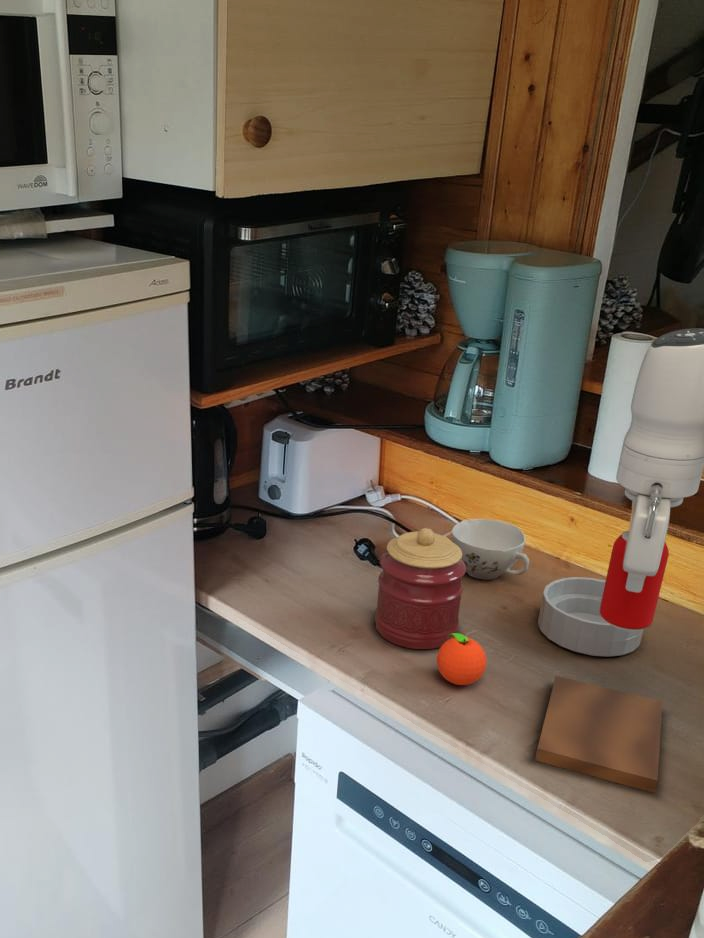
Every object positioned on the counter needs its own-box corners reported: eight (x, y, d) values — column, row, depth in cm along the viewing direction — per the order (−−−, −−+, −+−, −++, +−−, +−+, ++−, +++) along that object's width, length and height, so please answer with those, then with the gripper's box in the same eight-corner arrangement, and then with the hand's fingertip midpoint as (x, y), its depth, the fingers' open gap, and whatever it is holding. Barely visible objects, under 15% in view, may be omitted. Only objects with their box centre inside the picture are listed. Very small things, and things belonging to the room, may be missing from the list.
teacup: (432, 568, 163) (437, 528, 160) (478, 551, 170) (483, 512, 166) (499, 602, 152) (506, 559, 149) (545, 582, 159) (553, 541, 155)
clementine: (422, 667, 134) (427, 626, 131) (464, 660, 136) (470, 620, 133) (448, 698, 127) (454, 655, 124) (492, 690, 129) (499, 648, 126)
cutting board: (659, 712, 125) (662, 700, 124) (654, 793, 110) (657, 780, 109) (553, 687, 130) (555, 675, 129) (534, 760, 115) (537, 748, 114)
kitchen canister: (357, 630, 144) (366, 529, 136) (402, 601, 152) (413, 504, 145) (429, 661, 136) (442, 556, 128) (472, 628, 144) (486, 528, 137)
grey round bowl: (642, 621, 147) (649, 589, 144) (636, 668, 134) (645, 634, 132) (544, 601, 153) (550, 569, 150) (531, 644, 140) (537, 611, 138)
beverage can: (649, 640, 110) (671, 551, 105) (595, 628, 112) (613, 541, 107) (652, 617, 115) (672, 531, 110) (600, 606, 117) (617, 522, 112)
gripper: (688, 507, 95) (660, 620, 101) (689, 448, 112) (665, 548, 118) (623, 497, 98) (600, 608, 104) (634, 440, 114) (613, 539, 120)
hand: (635, 576), depth 111 cm, fingers closed on beverage can, 6 cm apart
